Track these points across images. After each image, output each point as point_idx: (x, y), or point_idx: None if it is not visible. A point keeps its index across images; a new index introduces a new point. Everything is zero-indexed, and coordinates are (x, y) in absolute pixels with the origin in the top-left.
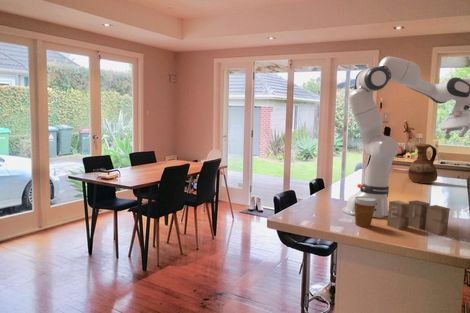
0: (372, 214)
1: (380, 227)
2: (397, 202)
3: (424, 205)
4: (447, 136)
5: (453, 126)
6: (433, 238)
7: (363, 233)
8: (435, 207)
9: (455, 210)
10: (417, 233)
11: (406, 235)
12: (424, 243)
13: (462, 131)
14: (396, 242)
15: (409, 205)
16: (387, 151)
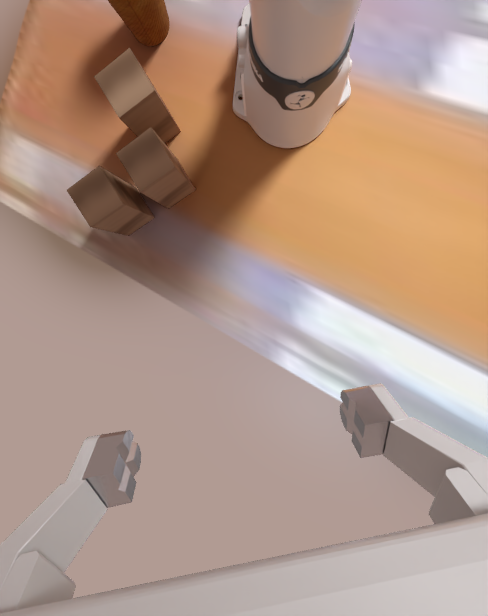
0: (119, 15)
1: None
2: (122, 74)
3: (127, 170)
4: (353, 416)
5: (266, 582)
6: None
7: (78, 6)
8: (89, 184)
9: None
10: (113, 159)
11: (91, 122)
12: (45, 143)
13: (43, 504)
14: (34, 75)
15: (121, 119)
16: None
